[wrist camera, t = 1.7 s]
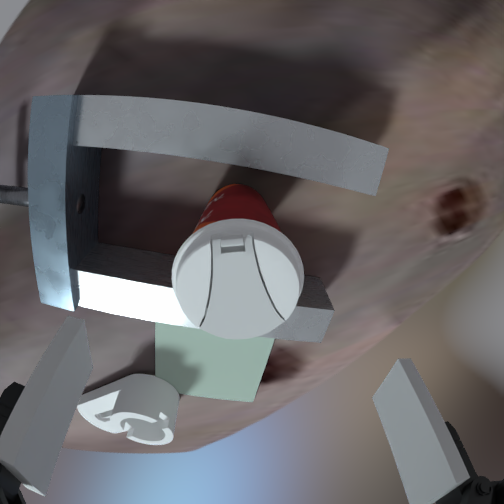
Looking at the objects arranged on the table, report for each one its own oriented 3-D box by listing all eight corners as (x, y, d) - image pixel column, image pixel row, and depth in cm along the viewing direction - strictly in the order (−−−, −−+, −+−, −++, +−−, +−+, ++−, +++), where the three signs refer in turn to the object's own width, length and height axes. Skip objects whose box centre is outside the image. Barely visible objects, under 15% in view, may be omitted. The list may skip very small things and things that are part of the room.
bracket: (149, 366, 37) (138, 406, 31) (191, 400, 40) (186, 439, 34) (74, 397, 41) (62, 427, 35) (111, 425, 45) (102, 454, 39)
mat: (156, 386, 40) (155, 389, 39) (156, 311, 34) (155, 314, 33) (252, 399, 41) (252, 402, 41) (276, 328, 36) (277, 331, 35)
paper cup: (191, 176, 27) (154, 235, 15) (275, 169, 28) (309, 221, 15) (202, 253, 31) (183, 351, 18) (278, 246, 31) (306, 341, 18)
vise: (15, 256, 30) (-16, 284, 23) (11, 99, 22) (-31, 103, 15) (309, 307, 34) (323, 349, 28) (360, 140, 27) (394, 150, 20)
